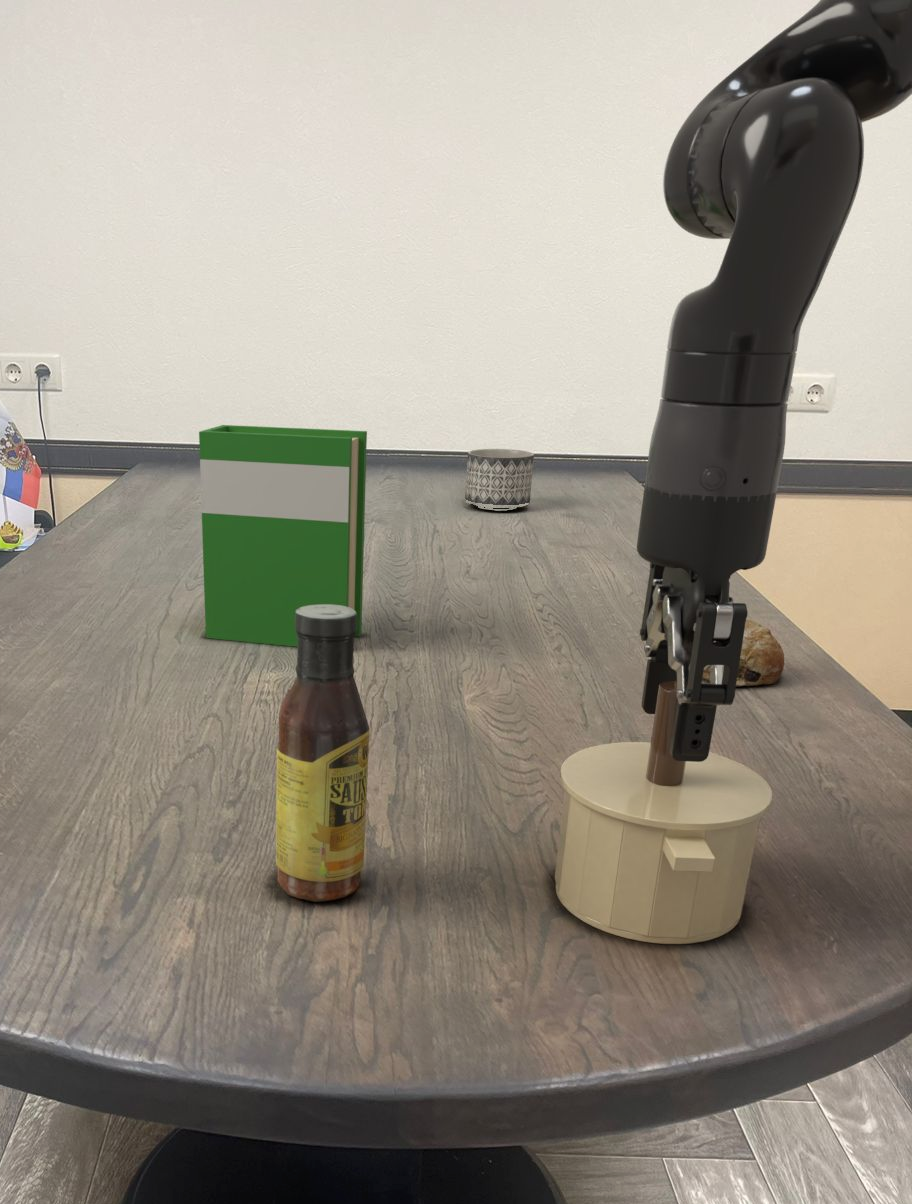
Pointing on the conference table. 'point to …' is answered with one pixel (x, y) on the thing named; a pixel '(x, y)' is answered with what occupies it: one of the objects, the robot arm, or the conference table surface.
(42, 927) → the conference table surface
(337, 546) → the hardback book
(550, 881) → the conference table surface
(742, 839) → the pot
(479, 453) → the planter
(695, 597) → the robot arm
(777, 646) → the bread roll
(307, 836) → the sauce bottle
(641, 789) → the lid
